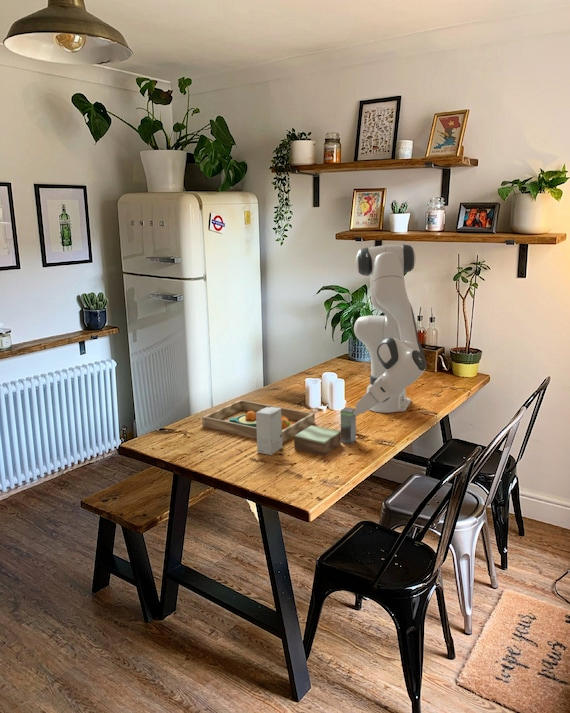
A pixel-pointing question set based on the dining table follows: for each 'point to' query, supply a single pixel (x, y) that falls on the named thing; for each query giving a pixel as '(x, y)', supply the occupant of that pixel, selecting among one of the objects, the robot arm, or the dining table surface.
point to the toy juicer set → (254, 420)
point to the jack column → (348, 425)
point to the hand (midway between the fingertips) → (360, 410)
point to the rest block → (317, 440)
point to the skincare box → (269, 430)
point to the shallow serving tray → (216, 423)
